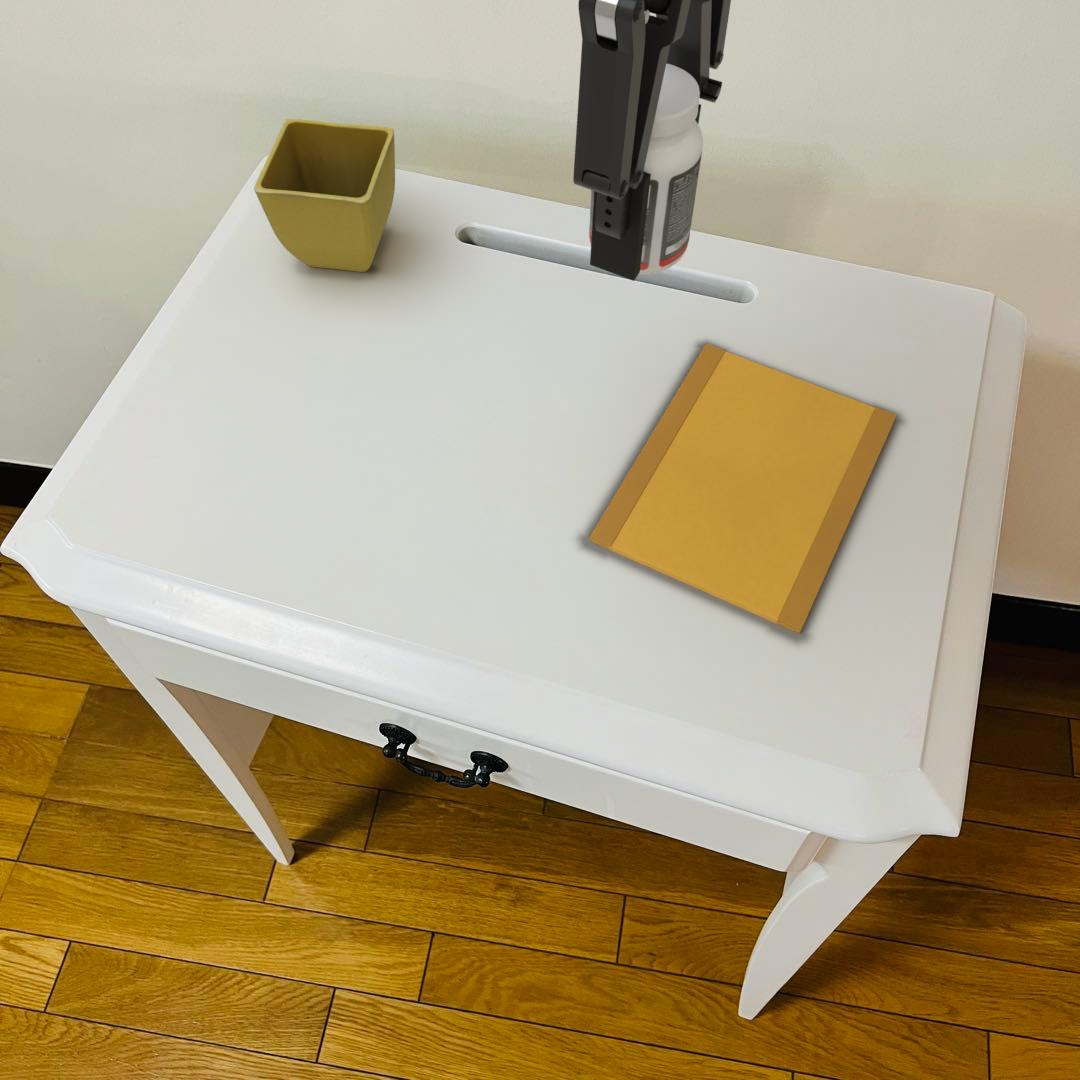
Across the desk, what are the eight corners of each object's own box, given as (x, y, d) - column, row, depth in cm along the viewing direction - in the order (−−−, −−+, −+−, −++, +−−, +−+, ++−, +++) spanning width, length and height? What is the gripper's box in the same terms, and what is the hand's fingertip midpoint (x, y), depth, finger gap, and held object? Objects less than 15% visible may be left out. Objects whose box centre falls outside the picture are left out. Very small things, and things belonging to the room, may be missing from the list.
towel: (894, 419, 76) (897, 414, 76) (799, 634, 67) (801, 629, 66) (705, 348, 80) (706, 342, 80) (589, 541, 70) (589, 536, 70)
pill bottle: (665, 203, 62) (685, 46, 54) (703, 266, 59) (731, 110, 51) (574, 223, 61) (580, 66, 53) (608, 288, 58) (621, 133, 50)
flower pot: (276, 281, 84) (250, 188, 76) (306, 209, 88) (285, 115, 81) (383, 293, 83) (367, 201, 76) (408, 220, 88) (395, 127, 80)
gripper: (697, -344, 45) (648, 124, 65) (485, -164, 36) (501, 316, 56) (862, -310, 44) (761, 160, 63) (682, -113, 35) (628, 365, 54)
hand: (639, 233), depth 59 cm, fingers closed on pill bottle, 6 cm apart
